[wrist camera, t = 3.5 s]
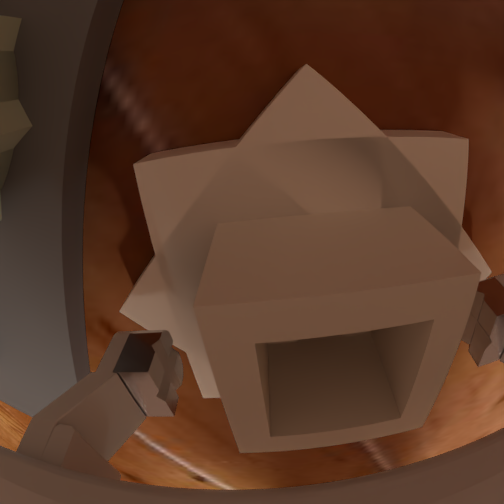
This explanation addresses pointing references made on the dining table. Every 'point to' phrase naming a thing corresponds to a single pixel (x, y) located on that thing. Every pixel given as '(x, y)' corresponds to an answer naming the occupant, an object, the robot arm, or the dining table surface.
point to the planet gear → (311, 269)
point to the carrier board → (46, 189)
